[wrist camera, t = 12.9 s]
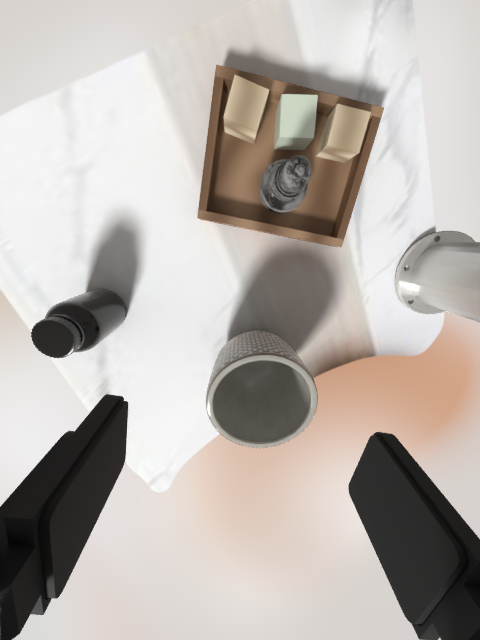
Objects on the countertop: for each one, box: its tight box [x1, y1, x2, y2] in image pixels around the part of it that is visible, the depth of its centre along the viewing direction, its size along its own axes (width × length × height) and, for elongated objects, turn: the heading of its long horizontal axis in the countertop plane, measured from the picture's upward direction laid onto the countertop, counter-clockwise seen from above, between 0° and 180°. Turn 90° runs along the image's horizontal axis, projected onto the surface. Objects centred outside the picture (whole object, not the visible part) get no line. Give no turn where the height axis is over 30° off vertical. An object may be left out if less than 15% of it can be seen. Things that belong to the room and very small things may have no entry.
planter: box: [206, 330, 318, 448], centre depth 36 cm, size 14×14×13 cm
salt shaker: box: [260, 155, 312, 213], centre depth 27 cm, size 6×6×12 cm
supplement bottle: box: [31, 289, 126, 358], centre depth 33 cm, size 7×7×12 cm
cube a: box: [316, 104, 371, 163], centre depth 30 cm, size 4×4×4 cm
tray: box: [197, 65, 384, 247], centre depth 32 cm, size 20×16×3 cm
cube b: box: [274, 94, 318, 150], centre depth 29 cm, size 4×4×4 cm
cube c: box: [224, 75, 269, 144], centre depth 29 cm, size 4×4×4 cm
